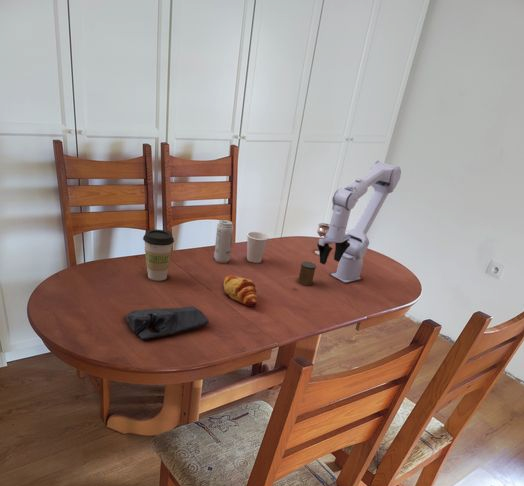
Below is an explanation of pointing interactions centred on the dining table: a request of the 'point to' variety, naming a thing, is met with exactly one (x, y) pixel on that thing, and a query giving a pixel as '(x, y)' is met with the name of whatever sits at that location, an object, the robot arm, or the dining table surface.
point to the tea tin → (306, 273)
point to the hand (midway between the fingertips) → (329, 262)
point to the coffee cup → (158, 253)
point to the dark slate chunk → (165, 321)
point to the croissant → (240, 290)
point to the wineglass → (322, 231)
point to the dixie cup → (256, 246)
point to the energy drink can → (223, 241)
